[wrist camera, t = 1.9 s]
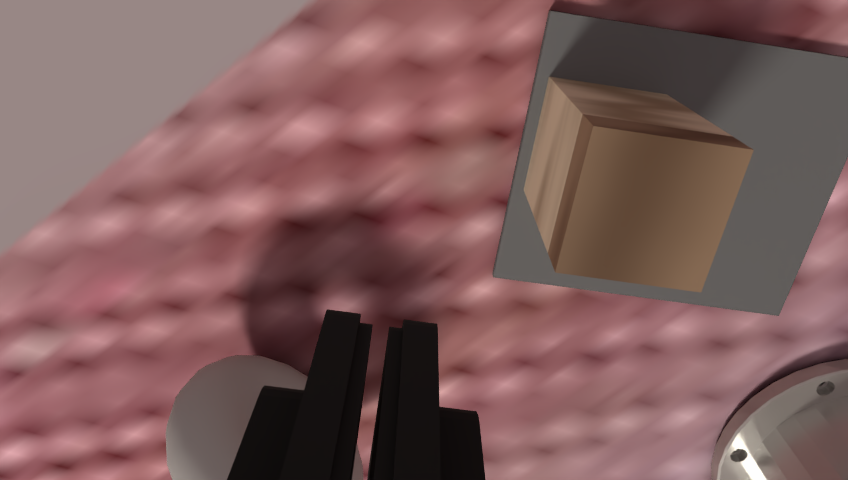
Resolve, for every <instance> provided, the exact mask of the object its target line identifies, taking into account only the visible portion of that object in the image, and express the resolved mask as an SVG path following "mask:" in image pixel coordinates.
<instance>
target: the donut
mask: <svg viewBox="0 0 848 480" xmlns="http://www.w3.org/2000/svg"><path fill="white" fill-rule="evenodd" d="M307 378H308V377H307V376H306V375H304V374H302V373H301V372H299V371H297V370H296V369H294V368H293V367H291V366H289V365H288V364H285V363H282V362H278V361H275V360H272V359H269V358H266V357H262V356H258V355H235V356H230V357H226V358H224V359H221V360H219V361H216V362H214V363H212V364H209V365H207V366H205V367H203V368H202V369H200V370H199V371H198V372H197V373H196V374H195V375H194V376H193V377H192V378H191V379H190V380H189V382H188V383H187V384H186V385H185V386H184V387H183V388H182V389H181V391H180V392H179V394H178V395H177V396H176V398H175V402H174V405H173V408H172V411H171V414H170V417H169V420H168V423H167V428H166V450H167V466H168V468H169V471H170V474H171V477H172V480H227V478H228V475H229V473H230V470H231V467H232V465H233V462H234V459H235V457H236V454H237V452H238V449H239V446H240V444H241V441H242V438H243V436H244V433H245V430H246V428H247V425H248V422H249V420H250V417H251V414H252V412H253V409H254V407H255V404H256V401H257V399H258V396H259V394H260V391H261V389H262V387H263V386H264V385H266V386H274V387H282V388H290V389H298V390H304V389H305V385H306V381H307ZM352 480H363V465H362V461H361V457H360V454H359V450H358V446H357V445H356V453H355V460H354V467H353V474H352Z"/></svg>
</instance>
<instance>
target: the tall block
mask: <svg viewBox="0 0 848 480" xmlns="http://www.w3.org/2000/svg"><path fill="white" fill-rule="evenodd" d="M753 151H754V150H753V149H752V148H750V147H749V146H747V145H745V144H744V143H742V142H741V141H739V140H738V139H736V138H734V137H733V136H731V135H730V134H728V133H727V132H725V131H723V130H722V129H720V128H719V127H717V126H716V125H714V124H712V123H711V122H709V121H708V120H706V119H705V118H703V117H701V116H700V115H698V114H697V113H695V112H694V111H692V110H690V109H689V108H687V107H686V106H684V105H683V104H681V103H679V102H678V101H676V100H675V99H673V98H672V97H670V96H668V95H667V94H661V93H654V92H648V91H641V90H634V89H628V88H621V87H615V86H608V85H602V84H595V83H589V82H582V81H575V80H569V79H562V78H556V77H549V78H548V83H547V87H546V92H545V96H544V101H543V105H542V110H541V114H540V119H539V123H538V128H537V132H536V137H535V141H534V146H533V150H532V154H531V159H530V163H529V168H528V172H527V177H526V181H525V186H524V192H525V195H526V197H527V200H528V202H529V205H530V208H531V210H532V213H533V216H534V218H535V221H536V224H537V226H538V229H539V231H540V234H541V237H542V239H543V242H544V245H545V247H546V250H547V252H548V255H549V258H550V260H551V263H552V266H553V268H554V271H555V273H562V274H569V275H576V276H584V277H591V278H598V279H606V280H613V281H620V282H628V283H635V284H642V285H650V286H657V287H664V288H672V289H679V290H686V291H694V292H701V291H702V289H703V286H704V283H705V281H706V278H707V275H708V273H709V270H710V267H711V264H712V262H713V259H714V256H715V254H716V251H717V248H718V245H719V243H720V240H721V237H722V235H723V232H724V229H725V227H726V224H727V221H728V218H729V216H730V213H731V210H732V208H733V205H734V202H735V199H736V197H737V194H738V191H739V189H740V186H741V183H742V181H743V178H744V175H745V172H746V170H747V167H748V164H749V162H750V159H751V156H752V153H753Z"/></svg>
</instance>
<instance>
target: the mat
mask: <svg viewBox="0 0 848 480" xmlns="http://www.w3.org/2000/svg"><path fill="white" fill-rule="evenodd" d="M549 77H556V78H562V79H569V80H575V81H582V82H589V83H595V84H602V85H608V86H615V87H621V88H628V89H634V90H641V91H648V92H654V93H661V94H667V95H668V96H670V97H672V98H673V99H675V100H676V101H678V102H679V103H681V104H683V105H684V106H686V107H687V108H689V109H690V110H692V111H694V112H695V113H697V114H698V115H700V116H701V117H703V118H705V119H706V120H708V121H709V122H711V123H712V124H714V125H716V126H717V127H719V128H720V129H722V130H723V131H725V132H727V133H728V134H730V135H731V136H733V137H734V138H736V139H738V140H739V141H741V142H742V143H744V144H745V145H747V146H749V147H750V148H752V149H753V150H754V151H753V153H752V156H751V159H750V162H749V164H748V167H747V170H746V172H745V175H744V178H743V181H742V183H741V186H740V189H739V191H738V194H737V197H736V199H735V202H734V205H733V208H732V210H731V213H730V216H729V218H728V221H727V224H726V227H725V229H724V232H723V235H722V237H721V240H720V243H719V245H718V248H717V251H716V254H715V256H714V259H713V262H712V264H711V267H710V270H709V273H708V275H707V278H706V281H705V283H704V286H703V289H702V291H701V292H694V291H686V290H679V289H672V288H664V287H657V286H650V285H642V284H635V283H628V282H620V281H613V280H606V279H598V278H591V277H584V276H576V275H569V274H562V273H555V271H554V268H553V266H552V263H551V260H550V258H549V255H548V252H547V250H546V247H545V245H544V242H543V239H542V237H541V234H540V231H539V229H538V226H537V224H536V221H535V218H534V216H533V213H532V210H531V208H530V205H529V202H528V200H527V197H526V195H525V192H524V186H525V181H526V177H527V172H528V168H529V163H530V159H531V154H532V150H533V146H534V141H535V137H536V132H537V128H538V123H539V119H540V114H541V110H542V105H543V101H544V96H545V92H546V87H547V83H548V78H549ZM847 157H848V57H842V56H836V55H830V54H823V53H817V52H811V51H804V50H798V49H792V48H785V47H779V46H773V45H766V44H760V43H754V42H747V41H741V40H735V39H728V38H722V37H716V36H709V35H703V34H697V33H690V32H684V31H678V30H671V29H665V28H659V27H652V26H646V25H640V24H633V23H627V22H621V21H614V20H608V19H602V18H595V17H589V16H583V15H576V14H570V13H564V12H557V11H551V10H549V13H548V18H547V22H546V27H545V31H544V36H543V41H542V45H541V50H540V55H539V59H538V64H537V69H536V73H535V78H534V83H533V87H532V92H531V97H530V101H529V106H528V111H527V115H526V120H525V125H524V129H523V134H522V139H521V143H520V148H519V153H518V157H517V162H516V166H515V171H514V176H513V180H512V185H511V190H510V194H509V199H508V204H507V208H506V213H505V218H504V222H503V227H502V232H501V236H500V241H499V246H498V250H497V255H496V260H495V264H494V269H493V277H496V278H503V279H510V280H518V281H525V282H533V283H540V284H547V285H555V286H562V287H570V288H577V289H584V290H592V291H599V292H607V293H614V294H621V295H629V296H636V297H643V298H651V299H658V300H666V301H673V302H680V303H688V304H695V305H703V306H710V307H717V308H725V309H732V310H740V311H747V312H754V313H762V314H769V315H777V316H779V314H780V312H781V310H782V307H783V305H784V303H785V300H786V298H787V296H788V293H789V291H790V289H791V287H792V284H793V282H794V280H795V277H796V275H797V273H798V270H799V268H800V266H801V263H802V261H803V259H804V257H805V254H806V252H807V250H808V247H809V245H810V243H811V240H812V238H813V236H814V233H815V231H816V229H817V227H818V224H819V222H820V220H821V217H822V215H823V213H824V210H825V208H826V206H827V203H828V201H829V199H830V197H831V194H832V192H833V190H834V187H835V185H836V183H837V180H838V178H839V176H840V173H841V171H842V169H843V167H844V164H845V162H846V160H847Z"/></svg>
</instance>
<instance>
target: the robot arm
mask: <svg viewBox="0 0 848 480" xmlns="http://www.w3.org/2000/svg"><path fill="white" fill-rule="evenodd" d="M360 317H361V314H357V313H350V312H342V311H334V310H327V311H326V314H325V317H324V321H323V324H322V328H321V332H320V335H319V339H318V342H317V346H316V349H315V353H314V357H313V360H312V364H311V367H310V371H309V374H308V378H307V381H306V385H305V389H304V390H298V389H290V388H282V387H274V386H266V385H264V386H263V387H262V389H261V391H260V394H259V396H258V399H257V401H256V404H255V407H254V409H253V412H252V414H251V417H250V420H249V422H248V425H247V428H246V430H245V433H244V436H243V438H242V441H241V444H240V446H239V449H238V452H237V454H236V457H235V459H234V462H233V465H232V467H231V470H230V473H229V475H228V478H227V480H352V474H353V467H354V460H355V453H356V445H357V438H358V430H359V423H360V416H361V408H362V401H363V393H364V386H365V378H366V371H367V363H368V356H369V348H370V341H371V333H372V324H364V323H360ZM367 480H485V472H484V462H483V453H482V443H481V434H480V424H479V417H478V414H477V412H476V411H468V410H460V409H452V408H444V407H439V371H438V327H437V324H434V323H426V322H419V321H411V320H404V321H403V326H402V328H395V327H389V333H388V340H387V346H386V353H385V360H384V367H383V374H382V381H381V387H380V394H379V401H378V408H377V415H376V422H375V428H374V435H373V442H372V449H371V456H370V463H369V471H368V479H367ZM711 480H848V359H843V360H837V361H832V362H826V363H821V364H817V365H814V366H811V367H808V368H805V369H802V370H799V371H796V372H794V373H792V374H790V375H788V376H786V377H784V378H782V379H780V380H778V381H776V382H774V383H772V384H771V385H769V386H768V387H766V388H765V389H763V390H762V391H760V392H759V393H758V394H756V395H755V396H753V397H752V398H751V399H750V400H749V401H748V402H747V403H746V404H745V405H744V406H743V407H741V408H740V409H739V410H738V411H737V412H736V414H735V415H734V416H733V417H732V419H731V420H730V421H729V423H728V424H727V425H726V427H725V428H724V430H723V432H722V434H721V436H720V438H719V440H718V442H717V444H716V446H715V450H714V454H713V458H712V462H711Z"/></svg>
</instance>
